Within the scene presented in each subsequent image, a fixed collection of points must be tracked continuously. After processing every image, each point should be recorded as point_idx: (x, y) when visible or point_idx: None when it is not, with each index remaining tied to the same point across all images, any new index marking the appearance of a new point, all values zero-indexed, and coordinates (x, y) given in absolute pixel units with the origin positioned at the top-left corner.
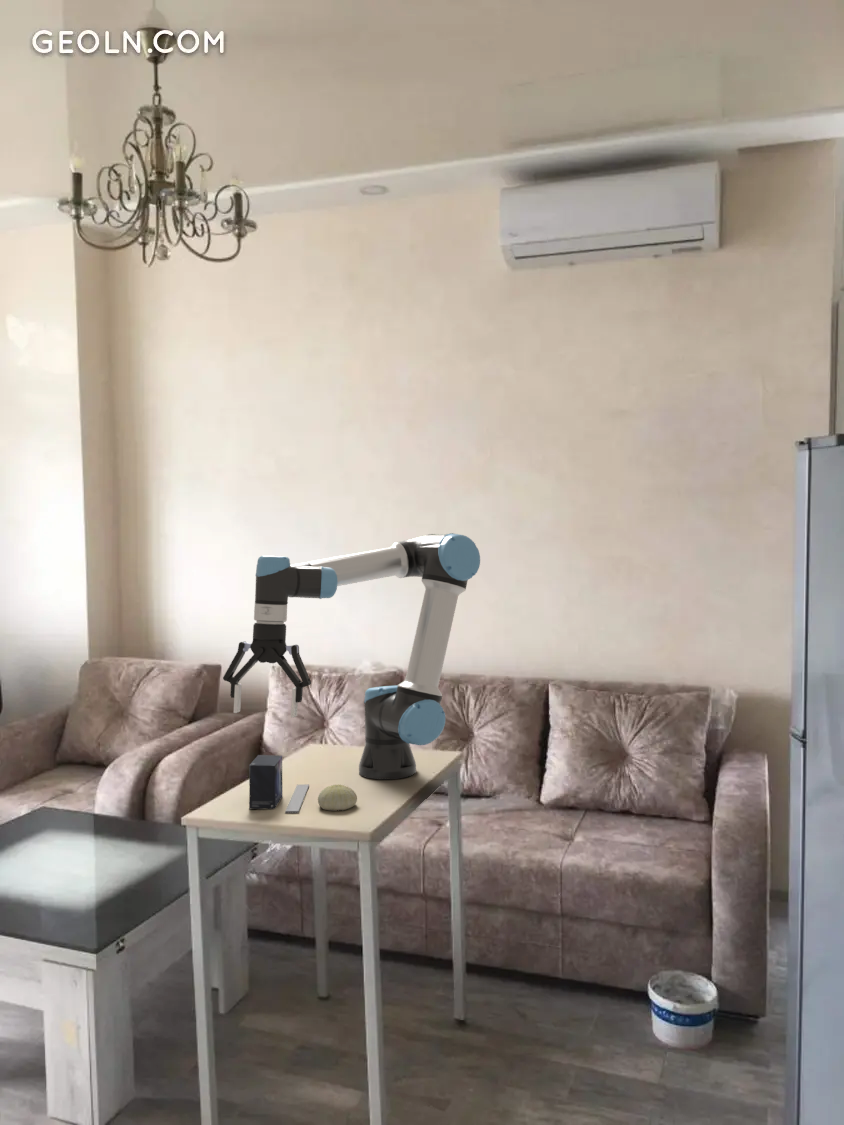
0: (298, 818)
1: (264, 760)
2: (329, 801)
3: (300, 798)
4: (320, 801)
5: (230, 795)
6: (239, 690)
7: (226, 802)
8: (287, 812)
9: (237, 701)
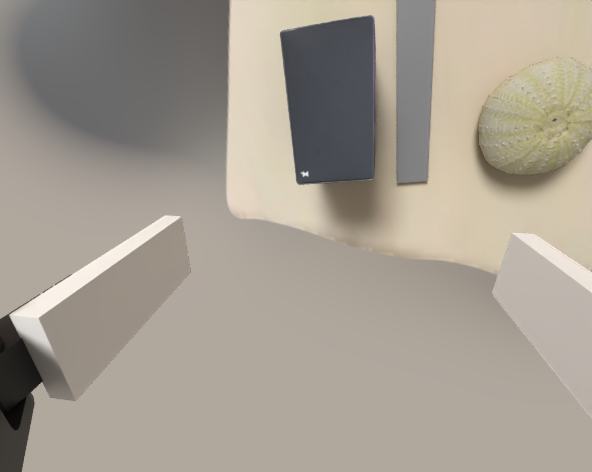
0: (429, 213)
1: (328, 127)
2: (513, 173)
3: (423, 71)
4: (487, 158)
5: (232, 39)
6: (103, 325)
7: (247, 106)
8: (401, 182)
9: (158, 304)
